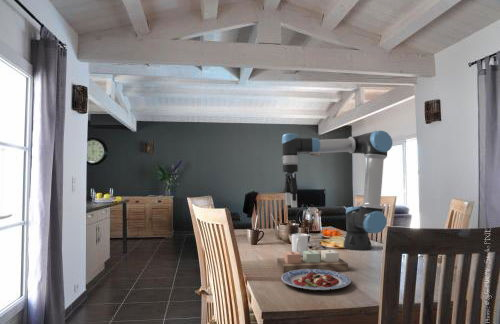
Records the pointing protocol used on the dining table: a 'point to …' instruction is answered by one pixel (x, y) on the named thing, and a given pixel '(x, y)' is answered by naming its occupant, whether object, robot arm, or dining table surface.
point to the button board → (312, 265)
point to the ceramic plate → (316, 279)
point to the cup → (300, 243)
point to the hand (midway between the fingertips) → (291, 206)
